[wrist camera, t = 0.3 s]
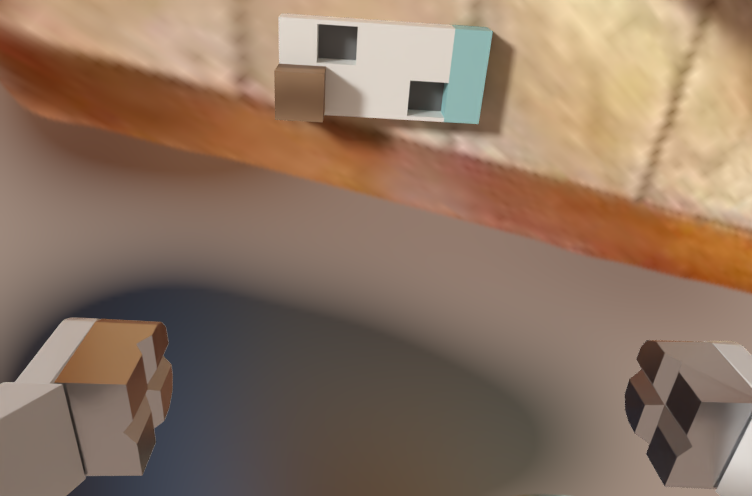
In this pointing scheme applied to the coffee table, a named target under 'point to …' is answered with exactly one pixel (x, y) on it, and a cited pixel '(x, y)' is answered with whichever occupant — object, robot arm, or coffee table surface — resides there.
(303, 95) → the block
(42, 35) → the coffee table surface
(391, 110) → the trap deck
